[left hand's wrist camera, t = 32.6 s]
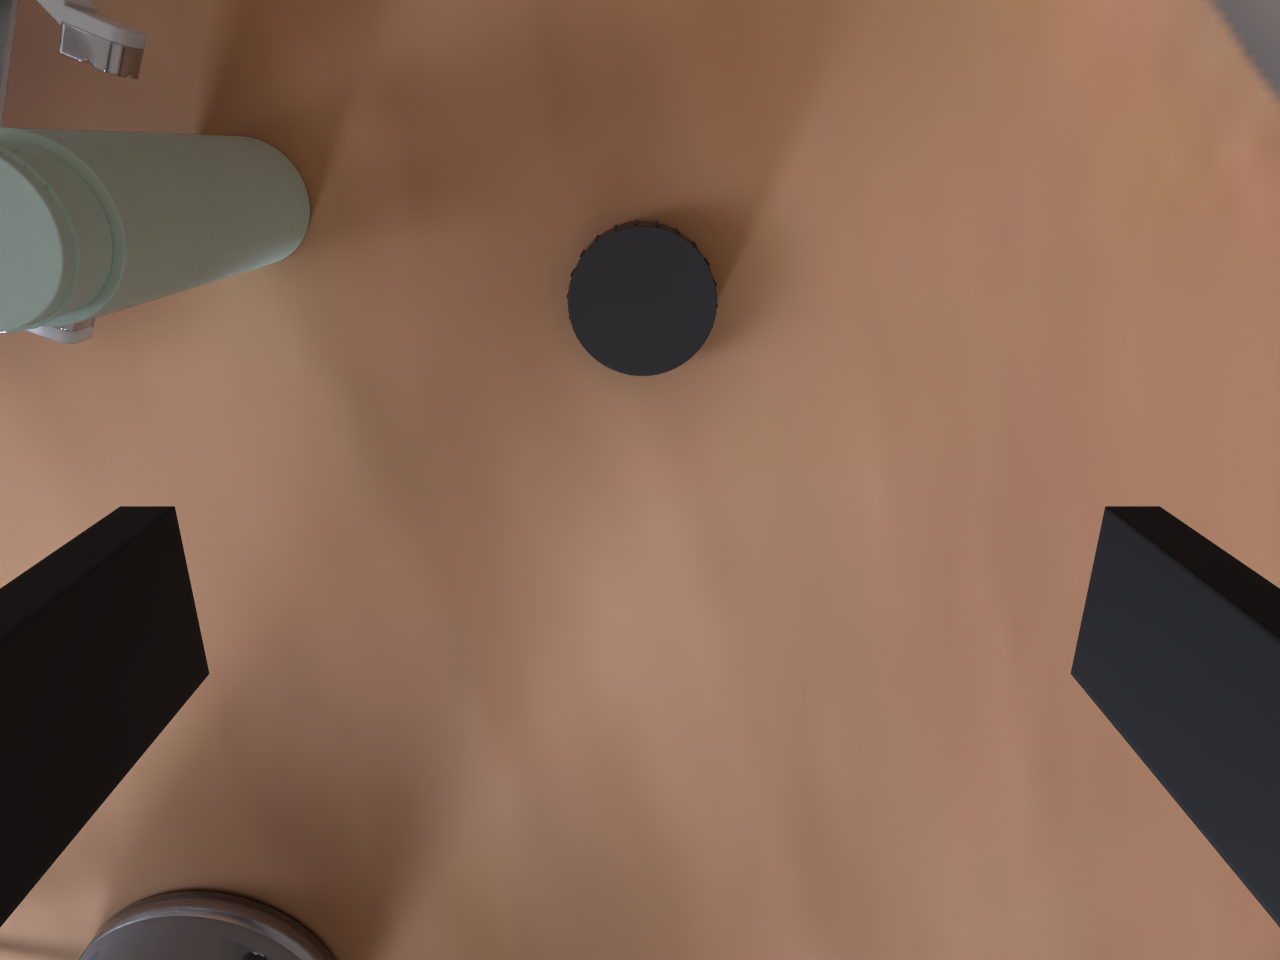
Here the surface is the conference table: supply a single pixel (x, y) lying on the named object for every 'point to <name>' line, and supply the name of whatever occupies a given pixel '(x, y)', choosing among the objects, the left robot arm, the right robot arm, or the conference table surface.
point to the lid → (642, 299)
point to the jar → (135, 218)
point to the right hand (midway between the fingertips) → (109, 196)
